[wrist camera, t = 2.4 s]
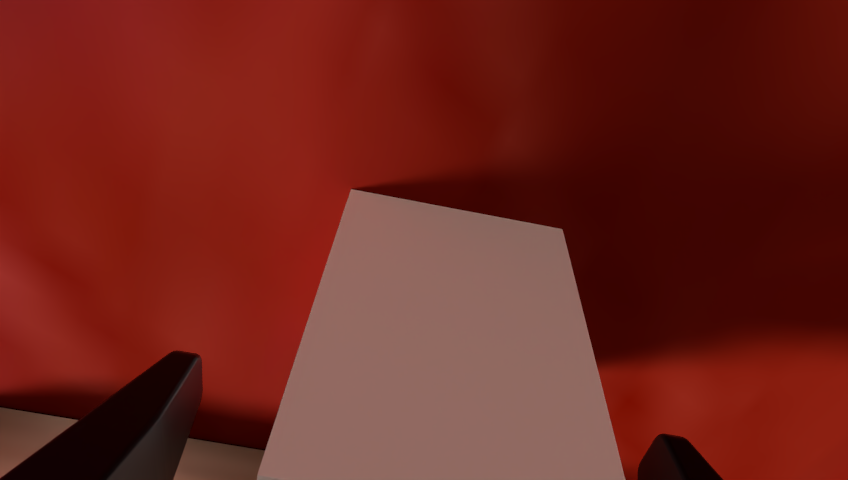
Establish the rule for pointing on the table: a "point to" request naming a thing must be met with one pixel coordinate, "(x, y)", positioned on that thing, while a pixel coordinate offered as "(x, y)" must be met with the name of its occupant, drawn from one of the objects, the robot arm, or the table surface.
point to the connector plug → (443, 356)
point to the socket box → (28, 432)
